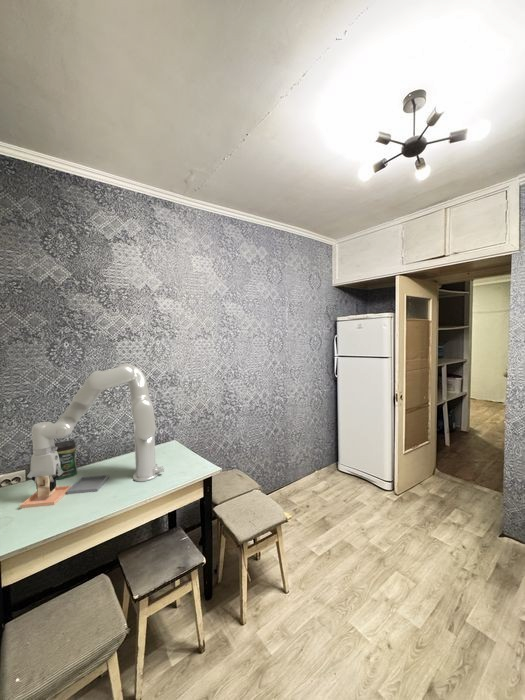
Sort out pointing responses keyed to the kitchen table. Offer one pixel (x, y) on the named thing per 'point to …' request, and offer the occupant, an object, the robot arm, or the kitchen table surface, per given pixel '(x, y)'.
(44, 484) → the notched wooden block
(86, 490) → the charcoal tray
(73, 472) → the coffee jar
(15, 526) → the kitchen table surface
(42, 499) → the terracotta dish
